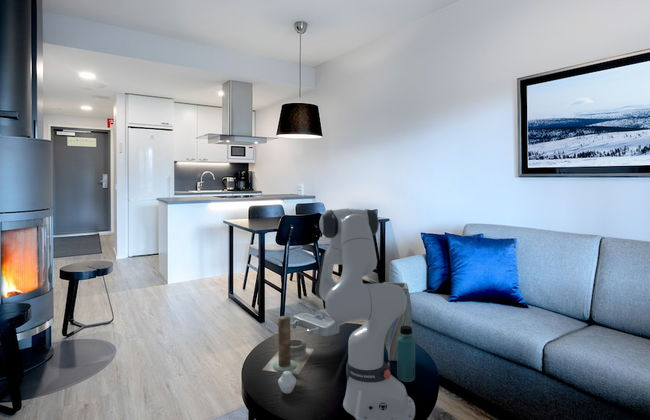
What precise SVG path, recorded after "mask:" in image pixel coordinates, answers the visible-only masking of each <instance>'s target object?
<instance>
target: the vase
mask: <svg viewBox="0 0 650 420" xmlns="http://www.w3.org/2000/svg"><path fill="white" fill-rule="evenodd" d="M382 283H387V284H394V285H399V286H400V287H401V288H402V289H403V291H404V292H405V295H406V298H407V305H406V309H405V311H404V313H403V314H402V315H401V316H399V317H398V318H397V319H396V320H395V321H394V322H393V323H392V325H391V326H390V328H389V330H388V332H387V334H386V338H385V343H384V347H385V348H386V351H387V355H388V356H387V357H388V361H396V362H397V338H398V337H399V336H400V335H402V334H401V333H400V329H401V326H410V327H411V328H412V319H413V318H412V316H413V312H412V311H413V310H412V301H411V297H410V289H409V286H408V283H406V282H395V281H394V282H393V281H390V282H387V281H383V282H382Z"/></svg>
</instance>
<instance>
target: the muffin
mask: <svg viewBox="0 0 650 420" xmlns="http://www.w3.org/2000/svg"><path fill="white" fill-rule="evenodd" d="M281 373H282V372H281ZM277 383H278V387H279V388H280V390H281V392H282V393H284V394H291V393H292V392H293V391H294V388H295V386H296V383H297V379H296V377H295V375H294V374H292V372H290V371H285V372H283V373H282V374H281V376H280V378H278V380H277Z"/></svg>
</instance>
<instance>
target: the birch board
mask: <svg viewBox="0 0 650 420" xmlns="http://www.w3.org/2000/svg"><path fill="white" fill-rule="evenodd" d="M314 350H315V349H314V348H309V347H307V342H306V340H304V339H302V338H297V337H296V338H290V354H291V360H293V361H295V362H296V368H295V369H293V370H291V371H290V372H292V375H299V374H300V373H301V371H302V369H303V368H304V366H305V364H306V363H307V362H308V360H309V358H310V356H311V355H312V354H313V351H314ZM278 360H279V350H278V351H277V352H276V353H275V354H274V355H273V357H272V358H271V359H270V360H269V361H268V362H267V364H266V365H265V366H264V367H263V368H262V371H267V372H268V371H269V372H275V373H283V372H281V371H276V370H274V369H273V363H274V362H276V361H278Z"/></svg>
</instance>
